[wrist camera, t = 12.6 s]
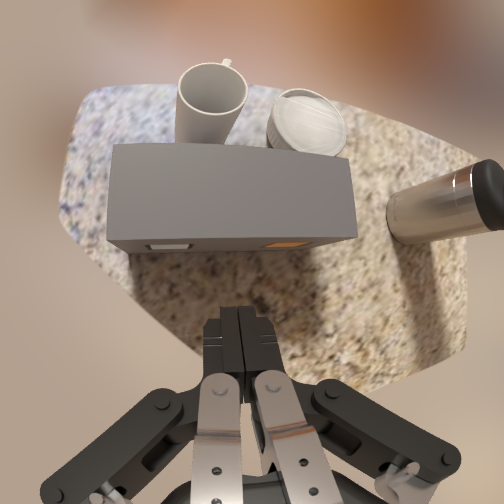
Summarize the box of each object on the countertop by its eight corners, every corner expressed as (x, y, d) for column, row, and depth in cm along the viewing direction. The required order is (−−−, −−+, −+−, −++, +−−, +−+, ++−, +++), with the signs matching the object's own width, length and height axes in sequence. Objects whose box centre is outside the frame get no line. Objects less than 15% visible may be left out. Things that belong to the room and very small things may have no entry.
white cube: (186, 215, 29) (188, 207, 26) (186, 248, 29) (189, 244, 26) (152, 215, 28) (150, 207, 25) (152, 249, 28) (149, 245, 25)
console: (298, 190, 38) (348, 158, 27) (302, 249, 37) (358, 237, 26) (129, 187, 32) (113, 144, 20) (128, 253, 31) (106, 240, 20)
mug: (214, 171, 35) (236, 125, 24) (164, 155, 33) (166, 102, 22) (236, 111, 37) (263, 57, 25) (192, 96, 35) (205, 38, 24)
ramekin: (312, 103, 41) (328, 86, 36) (339, 165, 41) (359, 152, 36) (248, 110, 37) (260, 90, 32) (276, 179, 37) (292, 165, 32)
